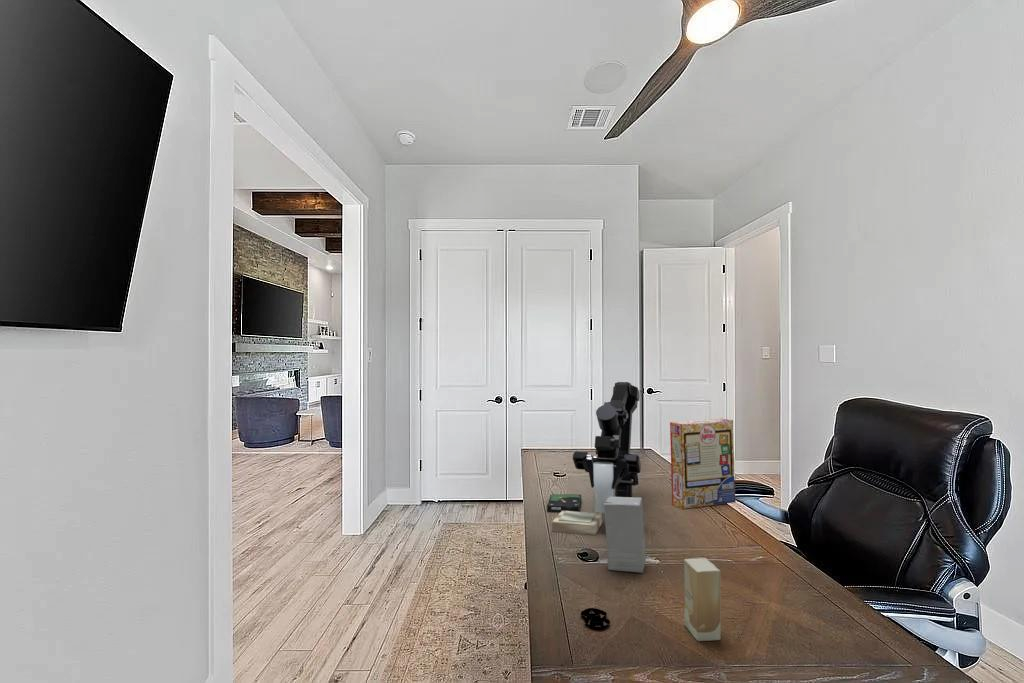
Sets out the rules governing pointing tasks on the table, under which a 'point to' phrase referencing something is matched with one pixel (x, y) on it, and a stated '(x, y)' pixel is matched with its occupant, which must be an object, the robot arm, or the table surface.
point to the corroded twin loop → (595, 618)
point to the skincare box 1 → (625, 534)
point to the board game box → (702, 463)
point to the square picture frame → (577, 522)
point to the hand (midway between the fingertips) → (602, 487)
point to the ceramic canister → (602, 484)
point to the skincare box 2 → (702, 599)
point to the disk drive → (564, 503)
